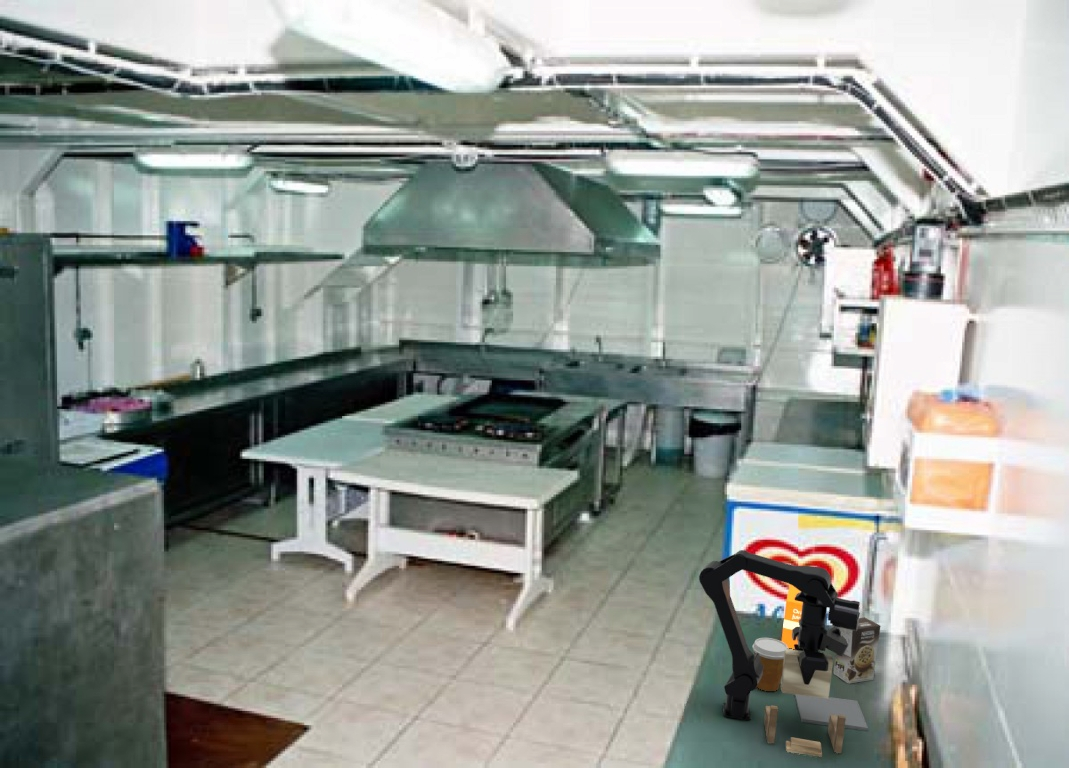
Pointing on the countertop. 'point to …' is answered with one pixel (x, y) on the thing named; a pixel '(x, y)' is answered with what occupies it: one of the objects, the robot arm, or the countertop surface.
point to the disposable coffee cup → (770, 662)
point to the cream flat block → (794, 679)
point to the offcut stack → (804, 747)
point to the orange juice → (791, 617)
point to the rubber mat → (830, 711)
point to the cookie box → (858, 652)
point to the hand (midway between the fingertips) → (805, 681)
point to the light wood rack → (834, 727)
